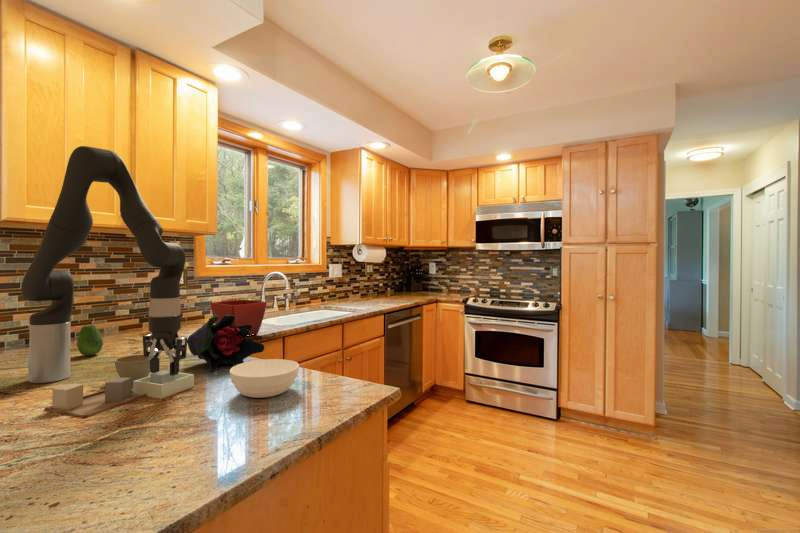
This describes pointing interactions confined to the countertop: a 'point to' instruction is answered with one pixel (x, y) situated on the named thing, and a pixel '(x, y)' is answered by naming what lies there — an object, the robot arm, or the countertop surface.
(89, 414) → the walnut tray
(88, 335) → the avocado
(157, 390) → the green bin
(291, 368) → the bowl
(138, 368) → the flower pot
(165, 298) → the robot arm
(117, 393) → the stone basalt
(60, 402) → the stone sand
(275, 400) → the countertop surface
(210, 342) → the decorative plant
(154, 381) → the stone slate
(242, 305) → the plant pot
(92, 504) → the countertop surface
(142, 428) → the countertop surface
